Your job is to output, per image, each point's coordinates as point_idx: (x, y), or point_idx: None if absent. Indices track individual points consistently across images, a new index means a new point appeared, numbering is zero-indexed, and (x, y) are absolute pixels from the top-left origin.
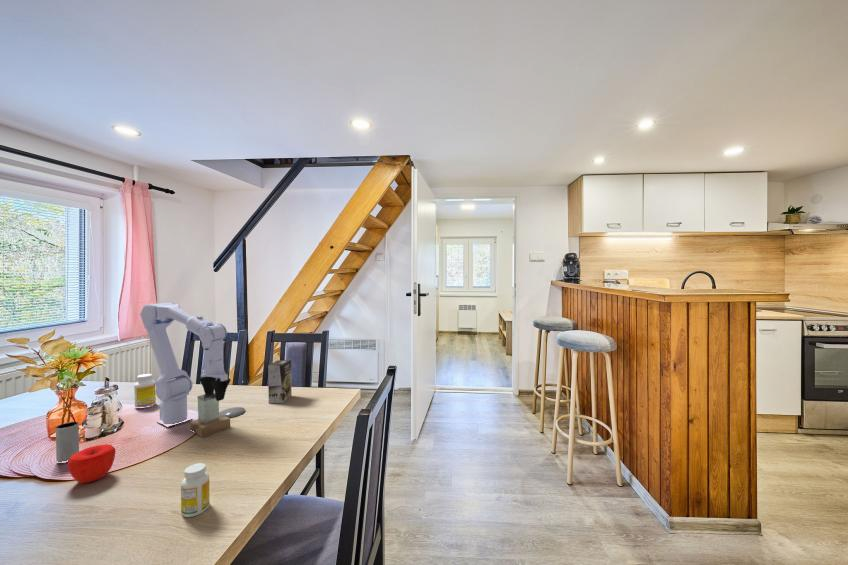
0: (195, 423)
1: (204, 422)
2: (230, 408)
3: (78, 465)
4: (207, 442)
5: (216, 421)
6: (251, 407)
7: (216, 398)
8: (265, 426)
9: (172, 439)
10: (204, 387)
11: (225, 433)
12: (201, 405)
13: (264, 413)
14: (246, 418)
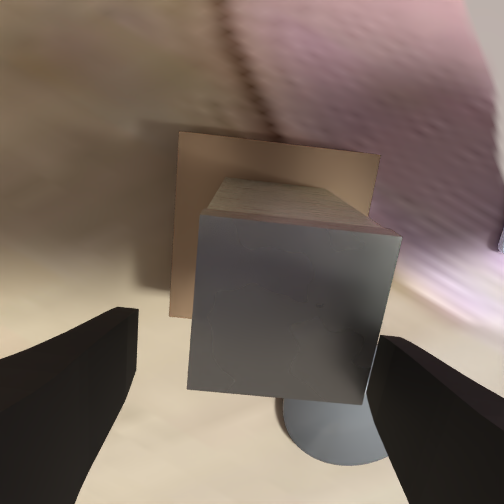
0: (309, 158)
1: (229, 179)
2: None
3: None
4: (87, 103)
5: None
6: (320, 488)
7: (112, 314)
8: None
9: (340, 19)
10: (456, 397)
11: (115, 227)
12: (282, 206)
13: (176, 468)
14: (204, 394)
